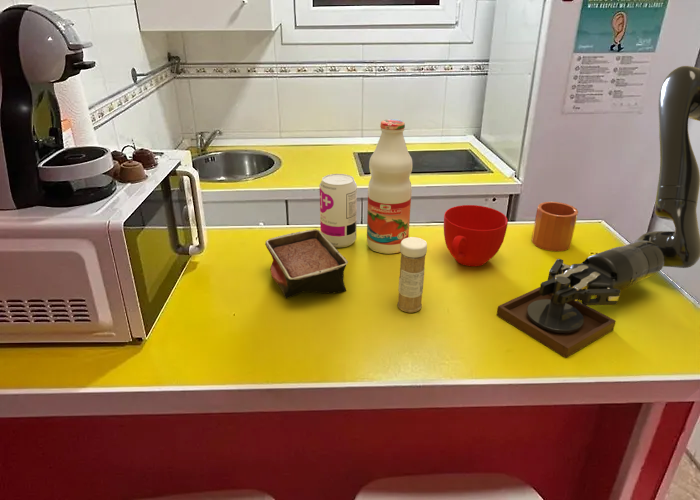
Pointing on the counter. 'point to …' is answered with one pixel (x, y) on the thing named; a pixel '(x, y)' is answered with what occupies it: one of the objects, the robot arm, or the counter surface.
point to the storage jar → (554, 226)
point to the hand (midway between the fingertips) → (548, 294)
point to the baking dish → (306, 263)
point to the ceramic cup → (474, 233)
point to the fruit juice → (389, 190)
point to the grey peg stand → (555, 312)
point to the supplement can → (338, 209)
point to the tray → (558, 342)
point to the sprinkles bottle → (411, 274)
